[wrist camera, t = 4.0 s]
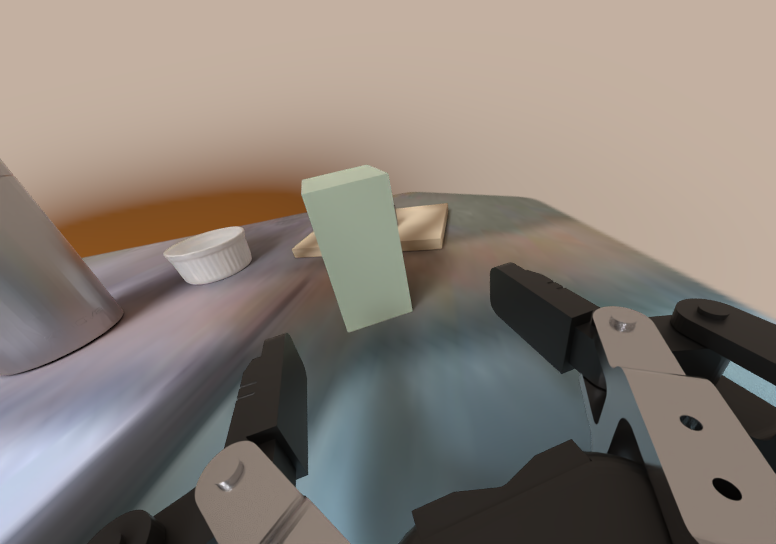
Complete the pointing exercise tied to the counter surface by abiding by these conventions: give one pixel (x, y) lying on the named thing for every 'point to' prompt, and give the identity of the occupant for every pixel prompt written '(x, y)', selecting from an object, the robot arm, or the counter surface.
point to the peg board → (400, 230)
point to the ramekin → (210, 255)
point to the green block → (359, 243)
